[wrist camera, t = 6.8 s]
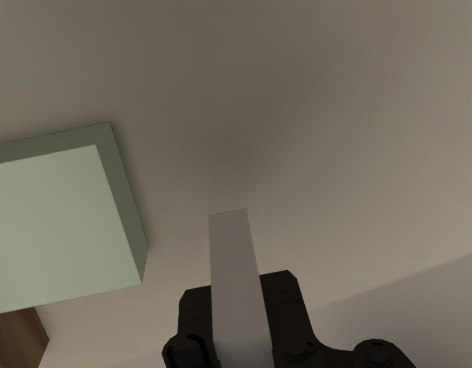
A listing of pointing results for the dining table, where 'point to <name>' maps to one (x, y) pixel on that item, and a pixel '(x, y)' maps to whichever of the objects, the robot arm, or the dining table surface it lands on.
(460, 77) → the dining table surface
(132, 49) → the dining table surface
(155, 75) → the dining table surface
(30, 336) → the board
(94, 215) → the block
